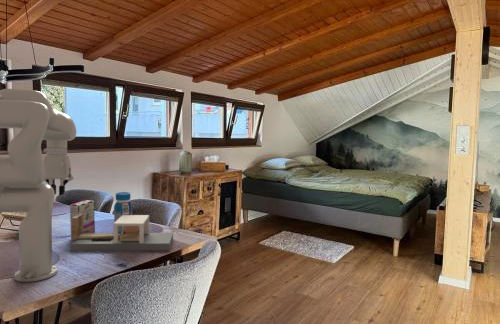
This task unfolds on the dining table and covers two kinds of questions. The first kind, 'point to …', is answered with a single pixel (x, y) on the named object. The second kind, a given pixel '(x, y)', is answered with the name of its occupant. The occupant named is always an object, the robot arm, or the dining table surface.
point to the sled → (78, 233)
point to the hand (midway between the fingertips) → (57, 194)
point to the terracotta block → (131, 229)
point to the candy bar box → (84, 215)
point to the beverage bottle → (122, 207)
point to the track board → (114, 244)
